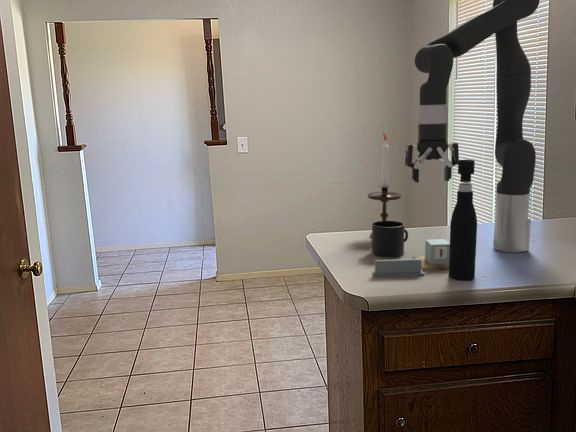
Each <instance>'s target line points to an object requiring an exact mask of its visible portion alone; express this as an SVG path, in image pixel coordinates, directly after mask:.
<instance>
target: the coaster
mask: <svg viewBox="0 0 576 432" xmlns="http://www.w3.org/2000/svg"><path fill="white" fill-rule="evenodd" d="M412 259H421V260H422V263H421V271H441V270H442V271H444V270H445V271H446V270H447V271H449V264H430V263H429V262H428V261H427V260H426V259H425V255H421V256H419V255H416V256H415V255H414V256H412Z"/></svg>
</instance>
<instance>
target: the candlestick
mask: <svg viewBox="0 0 576 432" xmlns="http://www.w3.org/2000/svg"><path fill="white" fill-rule="evenodd" d="M382 135H383V139H384V141H383V142H384V143H383V144H382V147H381V148H382V150H381V151H382V153H381V155H382V161H381V185H378V188H381V191H374V192H373V191H372V192H369V193H368V194H367V198H368V199H369V200H372V201H373V200H374V201H379V202H381V203H382V205H381V206H382V209H381V210H382V212H381V213H380V214H379V216H380V218H381V221H388V220H387V218H388V217H389V215H390V214H389V213H388V212H387V203H388V202H390V201H396V200H401V199H402V193H400V192H396V191H395V192H393V191H389V188H391V185H389V183H388V181H389V145H388V143H387V136H386V134H385V131H382ZM369 236H370V238H371V239H372V232H371V233H370V235H369Z"/></svg>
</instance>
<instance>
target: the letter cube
mask: <svg viewBox="0 0 576 432" xmlns="http://www.w3.org/2000/svg"><path fill="white" fill-rule="evenodd" d="M424 243H425V245H424V246H425V247H424V248H425V249H424V256H425V259H426V260H427V261H428V262H429V263H430V264H449V251H450V241H448V240H446V239H445V238H444V239H425V242H424Z"/></svg>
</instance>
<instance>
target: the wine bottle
mask: <svg viewBox="0 0 576 432" xmlns="http://www.w3.org/2000/svg"><path fill="white" fill-rule="evenodd" d="M475 162H476V161H475V160H474V159H459V161H458V165H457V174H459V175H460V179H459V182H460V183H458V190H457V191H456V203H455V206H454V208H453V211H452V214H451V218H450V225H449V226H450V231H449V243H450V251H449V270H448V277H449V278H450V279H451V280H455V281H461V282H465V281H466V282H467V281H472V280H474V279H475V276H476V258H477V257H476V256H477V255H476V254H477V234H478V233H477V231H478V218H477V213H476V209H475V206H474V202H473V201H474V199H473V198H474V191H473V183H471V182H472V175H474V174H475V166H476V165H475V164H476V163H475Z"/></svg>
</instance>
